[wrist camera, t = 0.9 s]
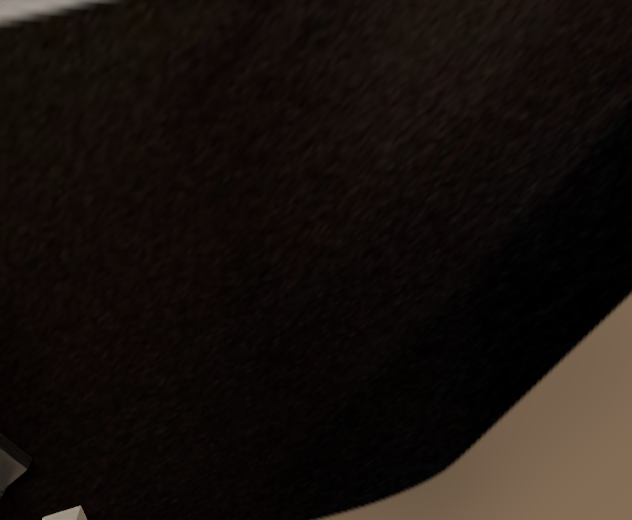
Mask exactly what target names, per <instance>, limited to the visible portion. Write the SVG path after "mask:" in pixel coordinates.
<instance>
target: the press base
mask: <svg viewBox="0 0 632 520" xmlns="http://www.w3.org/2000/svg"><path fill="white" fill-rule="evenodd" d="M32 459H33V458H32V457H31V456H29V455H28V454H27V453H25V452H24V451H23V450H22V449H20V448H19V447H18V446H17V445H15V444H14V443H13V442H12V441H10V440H9V439H8V438H6V437H5V436H4V435H3V434H1V433H0V499H1V497H2V495H3V493H4V491H5V490H6V488H7V486H8V485H9V484H11V483H12V482H13V481H14V480H15V479H17V478H18V477H19V476H20V475H21V474H23V473H24V472H25V471H26V470H27V469H28V467H29V465H30V463H31V461H32Z"/></svg>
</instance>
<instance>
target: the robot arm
mask: <svg viewBox="0 0 632 520" xmlns="http://www.w3.org/2000/svg"><path fill="white" fill-rule="evenodd" d="M42 520H87V518H86V516H85V514H84V512H83V509H82V507H81V506H78V507H75V508H72V509H68V510H65V511H62V512H59V513H55V514H52V515H49V516H46V517H43V518H42Z"/></svg>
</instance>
